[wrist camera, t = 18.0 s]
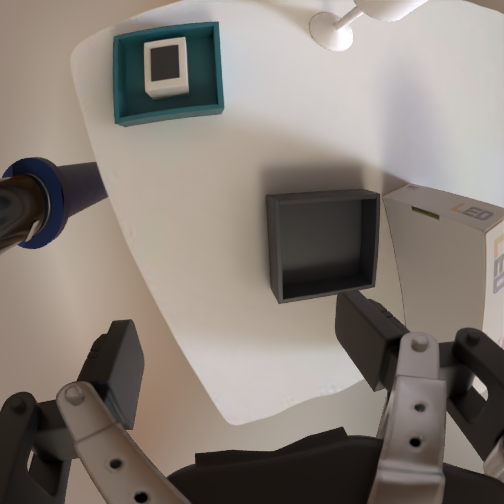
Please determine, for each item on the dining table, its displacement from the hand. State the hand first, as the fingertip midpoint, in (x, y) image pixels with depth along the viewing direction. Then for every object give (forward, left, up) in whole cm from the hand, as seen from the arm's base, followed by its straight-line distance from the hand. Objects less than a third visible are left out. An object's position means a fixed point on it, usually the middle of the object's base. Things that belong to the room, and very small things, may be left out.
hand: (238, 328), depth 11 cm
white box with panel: (-4, +17, -28) cm, 33 cm away
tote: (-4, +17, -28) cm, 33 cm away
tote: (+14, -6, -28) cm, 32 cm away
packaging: (+32, -14, -28) cm, 45 cm away
